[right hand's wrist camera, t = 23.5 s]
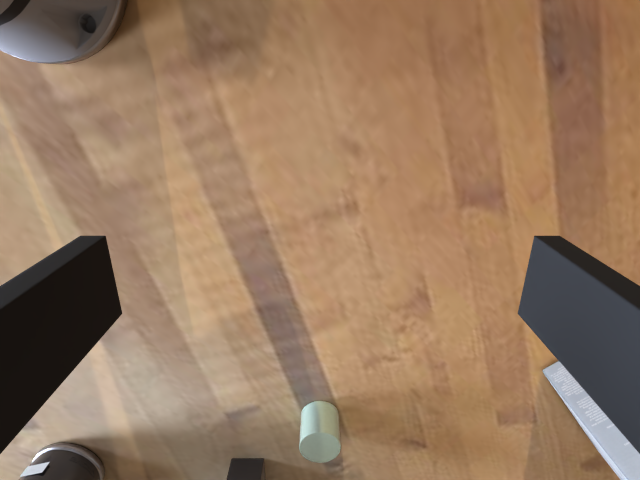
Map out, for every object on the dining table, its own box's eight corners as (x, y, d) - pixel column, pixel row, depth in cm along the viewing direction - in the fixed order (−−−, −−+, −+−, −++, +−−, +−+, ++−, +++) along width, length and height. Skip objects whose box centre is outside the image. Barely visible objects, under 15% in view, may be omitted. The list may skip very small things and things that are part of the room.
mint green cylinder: (301, 429, 53) (299, 463, 48) (300, 400, 51) (298, 432, 46) (338, 429, 53) (340, 462, 48) (339, 400, 51) (341, 432, 46)
